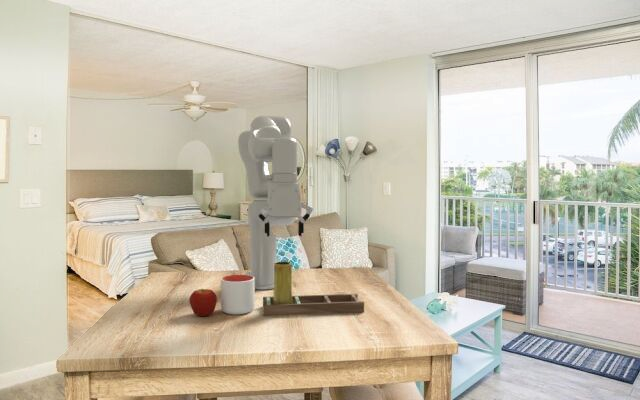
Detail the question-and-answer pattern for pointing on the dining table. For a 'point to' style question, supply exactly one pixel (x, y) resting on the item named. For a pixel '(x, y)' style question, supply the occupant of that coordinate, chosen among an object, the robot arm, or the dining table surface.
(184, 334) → the dining table surface
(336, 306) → the wooden compartment tray
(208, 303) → the apple
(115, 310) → the dining table surface
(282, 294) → the vase
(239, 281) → the cup
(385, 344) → the dining table surface
